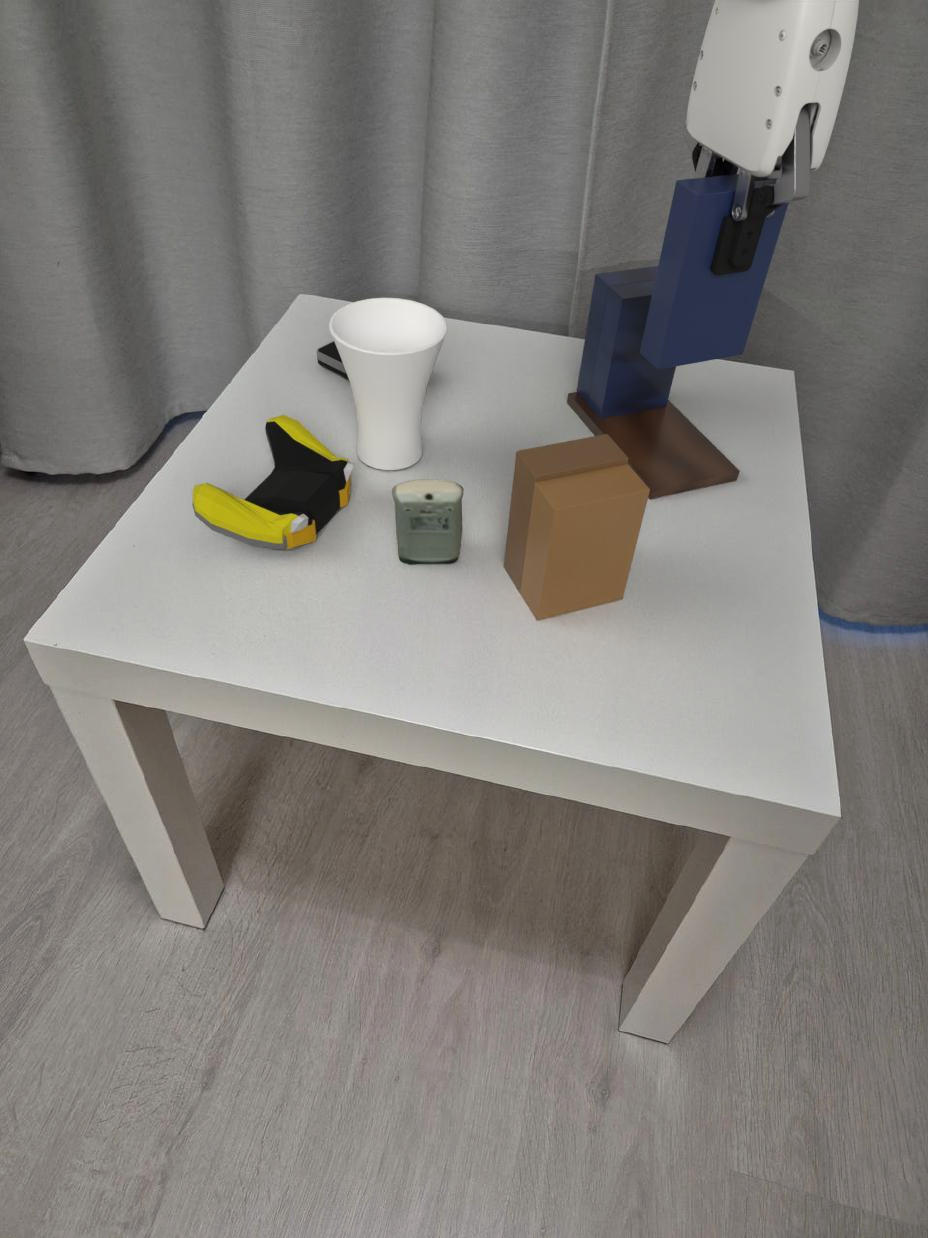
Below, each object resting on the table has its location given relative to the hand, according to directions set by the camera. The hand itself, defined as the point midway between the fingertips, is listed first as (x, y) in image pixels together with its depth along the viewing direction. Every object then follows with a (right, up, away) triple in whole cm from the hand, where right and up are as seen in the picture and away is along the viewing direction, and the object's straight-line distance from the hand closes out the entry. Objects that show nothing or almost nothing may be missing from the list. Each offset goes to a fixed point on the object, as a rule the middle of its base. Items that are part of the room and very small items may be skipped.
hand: (716, 258), depth 65 cm
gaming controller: (-35, -17, +15) cm, 42 cm away
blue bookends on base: (0, -8, +27) cm, 28 cm away
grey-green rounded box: (-22, -21, +12) cm, 33 cm away
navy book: (0, -5, +5) cm, 8 cm away
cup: (-26, -10, +23) cm, 36 cm away
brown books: (-10, -23, +10) cm, 28 cm away
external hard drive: (-29, +1, +33) cm, 44 cm away
